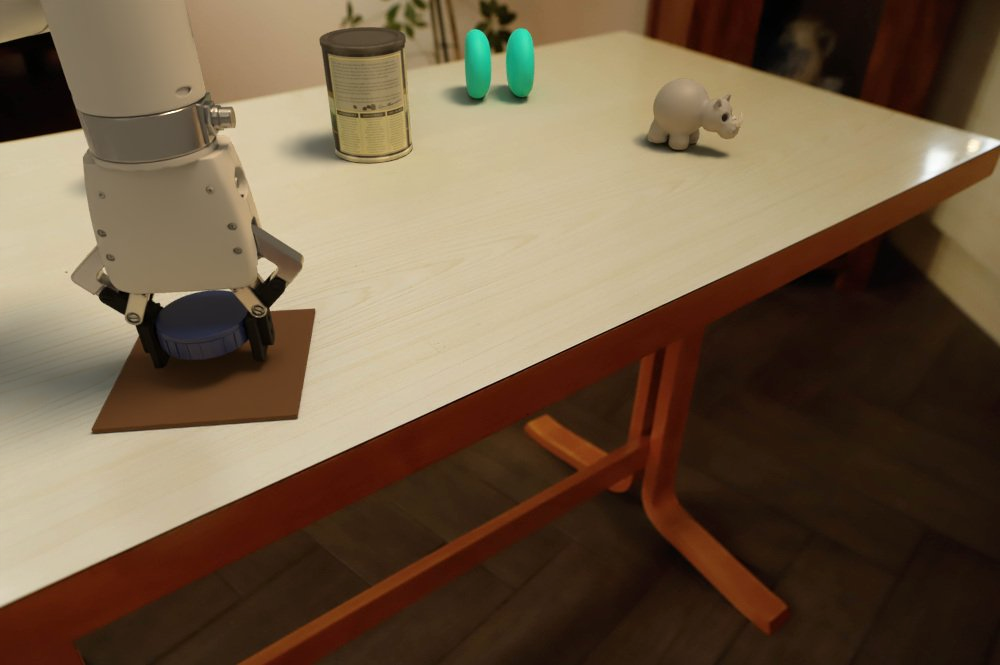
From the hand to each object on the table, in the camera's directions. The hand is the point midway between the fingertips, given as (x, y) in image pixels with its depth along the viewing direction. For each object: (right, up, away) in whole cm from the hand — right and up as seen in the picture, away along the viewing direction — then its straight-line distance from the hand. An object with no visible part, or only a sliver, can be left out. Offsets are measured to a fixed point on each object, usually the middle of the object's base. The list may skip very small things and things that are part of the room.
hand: (214, 352), depth 56 cm
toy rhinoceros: (+48, +26, +40) cm, 68 cm away
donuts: (+22, +39, +58) cm, 73 cm away
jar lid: (0, +3, -2) cm, 3 cm away
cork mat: (0, -1, +1) cm, 1 cm away
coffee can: (+6, +26, +39) cm, 47 cm away
